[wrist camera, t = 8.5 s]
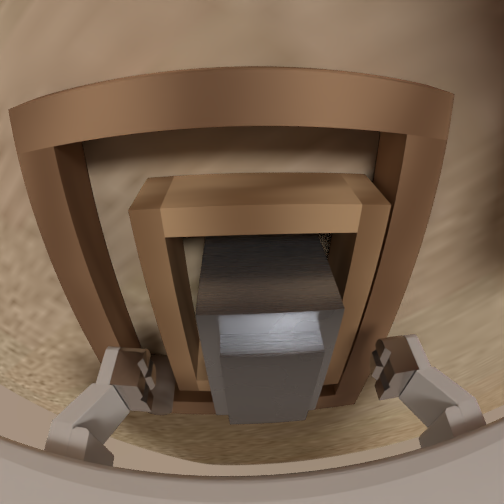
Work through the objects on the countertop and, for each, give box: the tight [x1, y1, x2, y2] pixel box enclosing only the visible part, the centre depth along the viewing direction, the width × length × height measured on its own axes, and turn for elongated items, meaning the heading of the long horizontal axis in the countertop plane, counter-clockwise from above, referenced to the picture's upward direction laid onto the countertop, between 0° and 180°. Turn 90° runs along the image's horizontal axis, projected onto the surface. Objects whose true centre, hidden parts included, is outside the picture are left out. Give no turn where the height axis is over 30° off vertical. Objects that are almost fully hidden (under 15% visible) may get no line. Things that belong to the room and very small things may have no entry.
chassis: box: [9, 66, 454, 415], centre depth 13 cm, size 14×18×3 cm
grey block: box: [195, 233, 345, 424], centre depth 12 cm, size 4×6×6 cm, turn 0°
